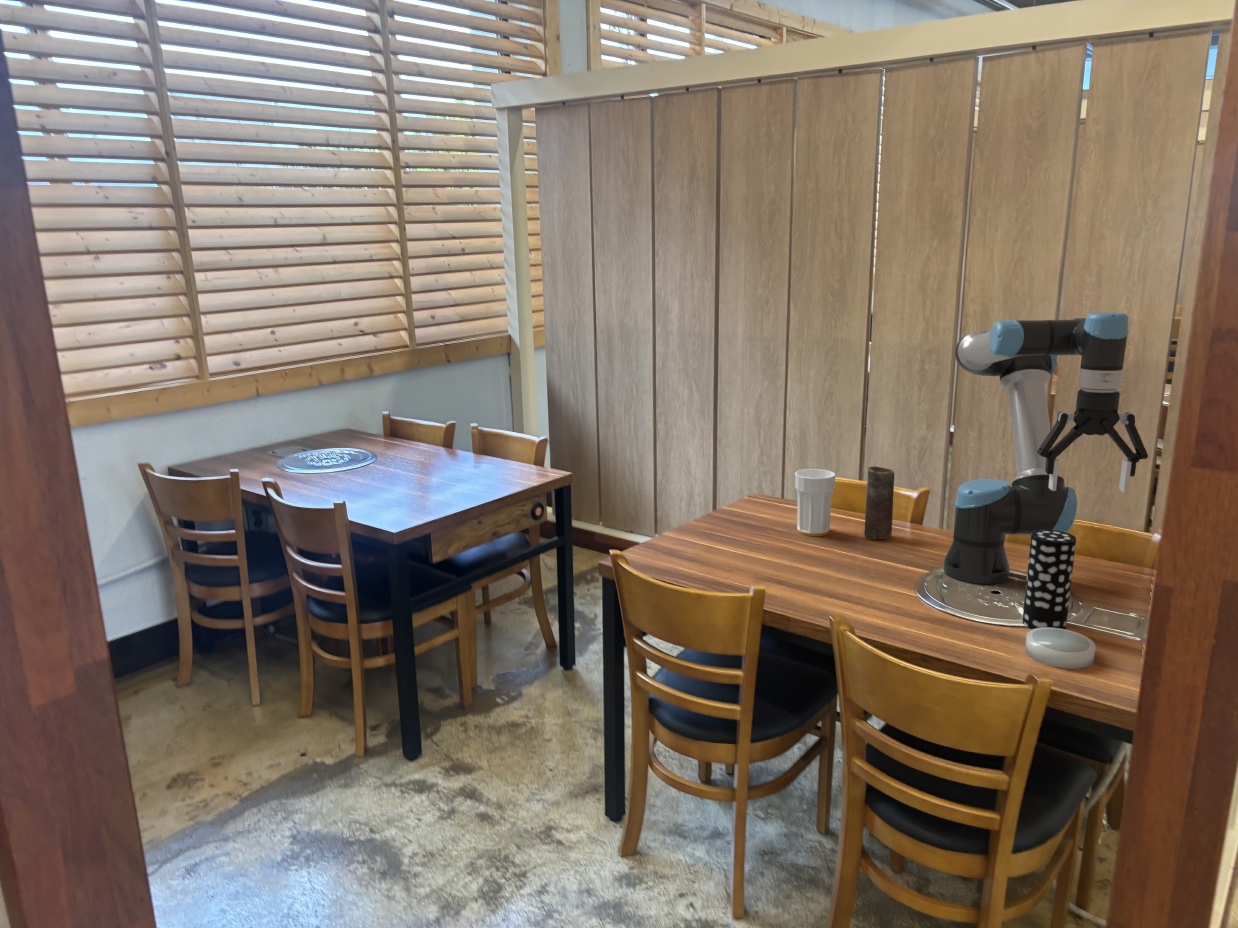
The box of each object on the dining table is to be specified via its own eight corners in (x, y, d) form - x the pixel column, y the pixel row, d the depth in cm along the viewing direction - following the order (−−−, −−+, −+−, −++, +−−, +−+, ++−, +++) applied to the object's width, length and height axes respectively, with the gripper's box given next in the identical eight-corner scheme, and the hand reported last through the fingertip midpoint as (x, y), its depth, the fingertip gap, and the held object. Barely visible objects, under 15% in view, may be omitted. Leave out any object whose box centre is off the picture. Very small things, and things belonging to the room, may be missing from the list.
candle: (869, 531, 239) (873, 464, 234) (895, 535, 235) (899, 467, 230) (860, 538, 233) (863, 469, 228) (886, 543, 229) (890, 473, 224)
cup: (837, 537, 235) (839, 478, 231) (797, 537, 235) (799, 478, 231) (828, 524, 246) (830, 468, 242) (789, 525, 246) (791, 469, 242)
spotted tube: (1014, 617, 180) (1023, 530, 175) (1051, 615, 181) (1060, 528, 176) (1036, 634, 172) (1046, 543, 167) (1074, 631, 173) (1085, 541, 168)
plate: (1026, 662, 160) (1027, 647, 160) (1024, 637, 171) (1025, 622, 170) (1096, 673, 155) (1098, 658, 155) (1090, 646, 166) (1092, 632, 165)
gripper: (1037, 391, 167) (1027, 492, 172) (1175, 393, 162) (1161, 497, 167) (1027, 386, 174) (1018, 483, 179) (1159, 387, 169) (1146, 487, 174)
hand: (1087, 490), depth 173 cm, fingers open, 13 cm apart
